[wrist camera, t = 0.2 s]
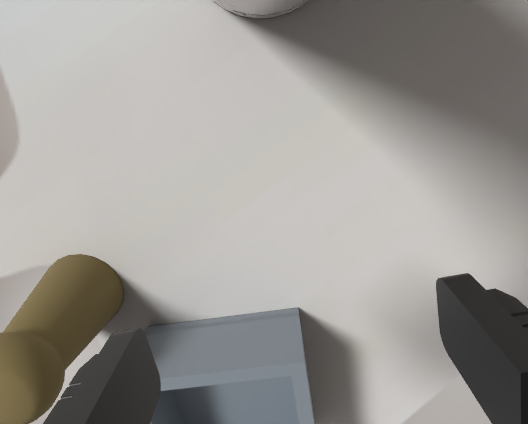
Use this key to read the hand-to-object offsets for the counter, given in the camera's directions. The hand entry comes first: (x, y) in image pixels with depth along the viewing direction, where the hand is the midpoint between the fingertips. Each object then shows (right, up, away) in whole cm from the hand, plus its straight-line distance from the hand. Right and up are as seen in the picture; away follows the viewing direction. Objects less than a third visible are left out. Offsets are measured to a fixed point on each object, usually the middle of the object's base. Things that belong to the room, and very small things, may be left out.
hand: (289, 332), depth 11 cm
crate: (-3, -11, +23) cm, 25 cm away
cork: (-14, -3, +20) cm, 25 cm away
